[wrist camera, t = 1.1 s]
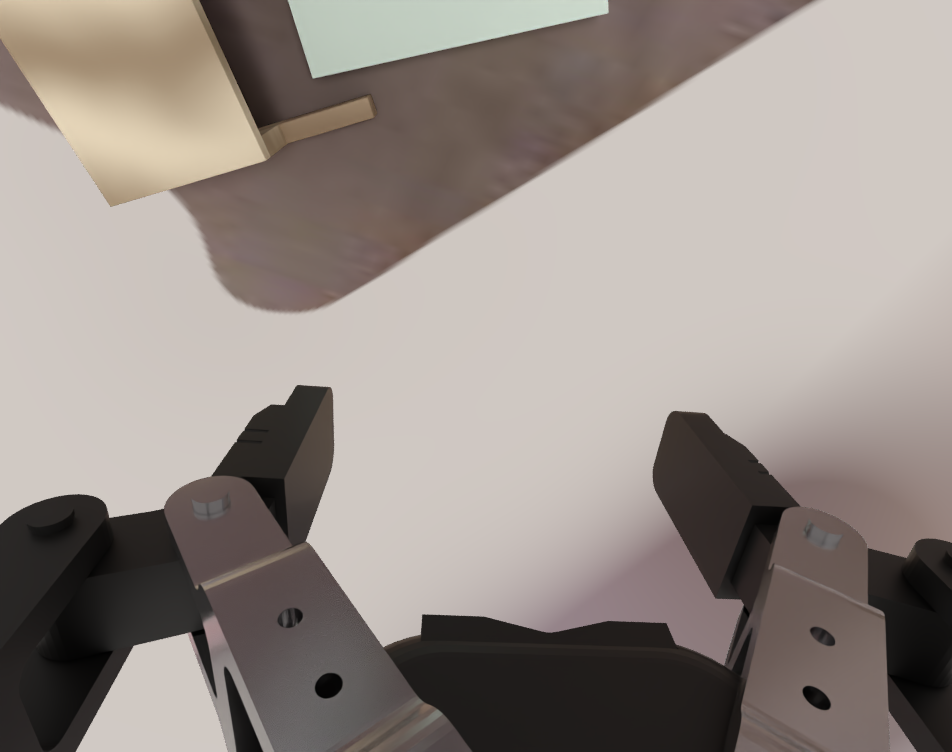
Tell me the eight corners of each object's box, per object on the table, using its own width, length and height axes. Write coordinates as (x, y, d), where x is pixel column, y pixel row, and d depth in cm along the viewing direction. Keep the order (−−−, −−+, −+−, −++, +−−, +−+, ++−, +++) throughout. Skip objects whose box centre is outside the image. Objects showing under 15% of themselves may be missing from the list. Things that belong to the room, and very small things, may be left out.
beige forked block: (8, -83, 24) (-95, -107, 20) (278, -184, 23) (235, -234, 18) (161, 178, 31) (110, 206, 26) (377, 113, 29) (363, 131, 25)
